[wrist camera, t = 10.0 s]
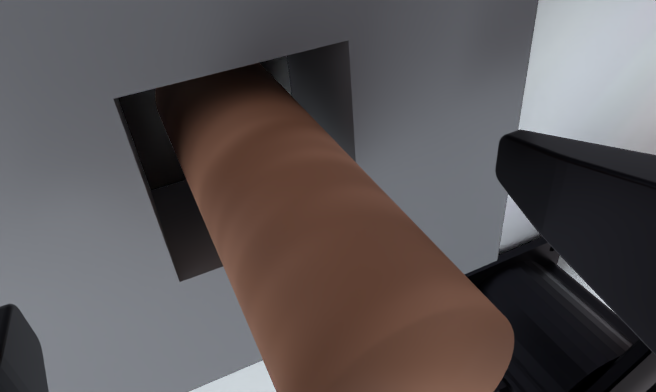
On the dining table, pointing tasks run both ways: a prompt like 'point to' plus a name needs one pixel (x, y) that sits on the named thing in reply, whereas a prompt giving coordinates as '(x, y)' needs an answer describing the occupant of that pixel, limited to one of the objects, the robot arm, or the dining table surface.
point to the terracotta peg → (325, 250)
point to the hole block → (177, 199)
